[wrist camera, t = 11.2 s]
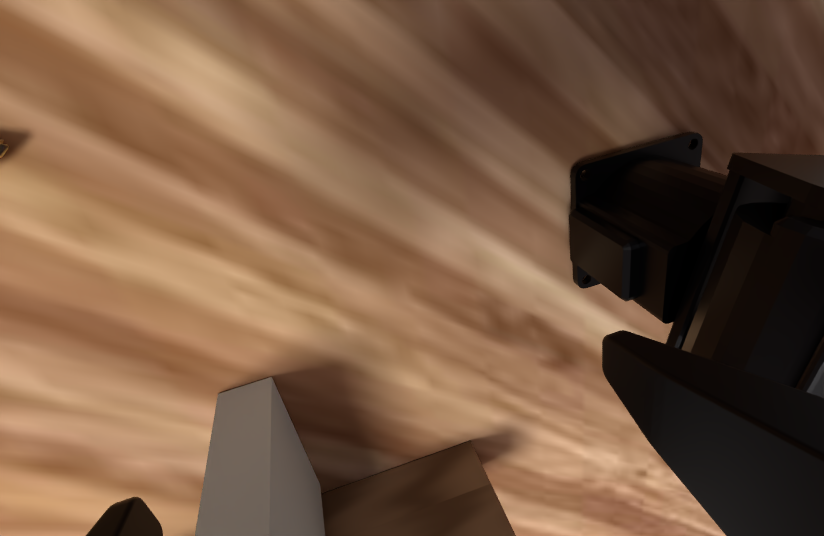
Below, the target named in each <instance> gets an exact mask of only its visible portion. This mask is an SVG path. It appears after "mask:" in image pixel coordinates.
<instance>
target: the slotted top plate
mask: <svg viewBox="0 0 824 536" xmlns="http://www.w3.org/2000/svg"><path fill="white" fill-rule="evenodd" d="M195 536H325V529H324V519H323V508H322V498H321V488H320V483H319V481H318V479H317V476H316V474H315V472H314V470H313V468H312V465H311V463H310V461H309V459H308V456H307V454H306V452H305V450H304V448H303V445H302V443H301V441H300V439H299V436H298V434H297V432H296V430H295V428H294V425H293V423H292V421H291V419H290V416H289V414H288V412H287V410H286V408H285V405H284V403H283V401H282V399H281V396H280V394H279V392H278V390H277V388H276V385H275V383H274V381H273V379H272V377H269V378H266V379H263V380H260V381H257V382H254V383H251V384H247V385H244V386H241V387H238V388H235V389H232V390H229V391H225V392H222V393H219V394H218V397H217V403H216V410H215V416H214V422H213V428H212V434H211V440H210V446H209V452H208V459H207V465H206V471H205V477H204V483H203V489H202V495H201V501H200V507H199V514H198V520H197V526H196V532H195Z"/></svg>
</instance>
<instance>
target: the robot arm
mask: <svg viewBox="0 0 824 536" xmlns="http://www.w3.org/2000/svg"><path fill="white" fill-rule="evenodd" d="M690 141H691V144H690V145H689V142H690ZM702 143H703V139H702V136H701V135H700V134H698V133H695V132H685V133H682V134H678V135H675V136H671V137H668V138H664V139H660V140H657V141H653V142H650V143H646V144H643V145H639V146H636V147H632V148H629V149H625V150H621V151H618V152H614V153H611V154H607V155H604V156H600V157H597V158H593V159H590V160H586V161H582V162H579V163H577V164H576V165H575V166H574V167H573V169H572V171H571V175H570V178H571V213H570V215H569V227H570V259H571V261H572V262H573V280H574V282H575V283H576V284H577V285H578V286H579V287H580V288H588V287H591V286H595V285H598V284H602V285H604V286H605V287H606V288H608V289H609V290H610V291H612V292H613V293H614V294H615V295H617V296H618V297H619V298H621V299H622V300H624V301H629V300H634V301H635V302H636V303H638V304H639V305H640V306H642V307H643V308H644V309H646V310H647V311H648V312H650V313H651V314H652V315H654V316H655V317H656V318H658V319H659V320H661V321H662V322H663V323H665V324H668V323H671V322H673V325H672V328H671V331H670V333H669V336H668V339H667V341H666V344H664V343H661V342H658V341H655V340H652V339H649V338H646V337H643V336H640V335H637V334H634V333H631V332H628V331H624V330H622V331H618V332H615V333H612V334H609V335H606V336H605V337H604V339H603V342H602V368H603V372H604V375H605V377H606V379H607V380H608V382H609V383H610V385H611V386H612V388H613V389H614V391H615V392H616V394H617V395H618V397H619V398H620V400H621V401H622V403H623V404H624V406H625V407H626V409H627V410H628V412H629V413H630V415H631V416H632V418H633V419H634V421H635V422H636V424H637V425H638V427H639V428H640V430H641V431H642V433H643V434H644V435H645V437H646V438H647V440H648V441H649V442H650V444H651V445H652V446H653V448H654V449H655V450H656V451H657V453H658V454H659V455H660V456H661V457H662V459H663V460H664V461H665V462H666V463H667V465H668V466H669V467H670V468H671V470H672V471H673V472H674V473H675V474H676V476H677V477H678V478H679V479H680V480H681V482H682V483H683V484H684V485H685V486H686V488H687V489H688V490H689V491H690V492H691V494H692V495H693V496H694V497H695V498H696V500H697V501H698V502H699V503H700V504H701V506H702V507H703V508H704V509H705V510H706V512H707V513H708V514H709V515H710V517H711V518H712V519H713V520H714V521H715V523H716V524H717V525H718V526H719V527H720V529H721V530H722V531H723V532H724V533H725V535H726V536H824V155H794V154H759V153H733V154H732V156H731V159H730V162H729V165H728V167H727V169H729V170H730V171H729V174H728V176H726V175H723V174H720V173H716V172H713V171H710V170H707V169H704V168H700V161H701V152H702ZM688 145H689V147H688ZM584 170H585V171H586V172H585V175H584V176H583V177H582V178H580V175H581V173H582V171H584ZM586 275H587V276H586ZM584 276H586V278H585V279H584V280H582V279H583V278H584ZM86 536H163V531H162V527H161V525H160V523H159V521H158V520H157V518H156V517H155V516H154V514H153V513H152V512H151V510H150V509H149V508H148V507H147V505H146V504H145V503H144V501H143V500H142V499H141V498H139V497H132V498H129V499H126V500H123V501H120V502H117V503H115V504H113V505H111V506H110V507H109V508H108V509H107V510H106V512H105V513H104V514H103V515H102V517H101V518H100V519H99V520H98V521H97V523H96V524H95V525H94V526H93V528H92V529H91V530H90V531H89V532H88V534H87V535H86Z"/></svg>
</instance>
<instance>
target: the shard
mask: <svg viewBox="0 0 824 536" xmlns="http://www.w3.org/2000/svg"><path fill="white" fill-rule="evenodd" d="M3 142H4V140H1V139H0V158H1V157H2V156H3V155H4V154H5V153H6V151H7V150H8V148H9V147H10V146H8V145H7V144H3Z"/></svg>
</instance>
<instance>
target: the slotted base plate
mask: <svg viewBox="0 0 824 536" xmlns="http://www.w3.org/2000/svg"><path fill="white" fill-rule="evenodd" d="M321 498H322V508H323V519H324V529H325V536H516V535H515V533H514V531H513V529H512V527H511V525H510V523H509V521H508V519H507V516H506V514H505V512H504V510H503V508H502V506H501V504H500V502H499V500H498V498H497V495H496V493H495V491H494V489H493V487H492V485H491V483H490V481H489V479H488V477H487V475H486V472H485V470H484V468H483V466H482V464H481V462H480V460H479V458H478V456H477V454H476V451H475V449H474V447H473V445H472V443H471V441H469V442H466V443H463V444H460V445H458V446H455V447H452V448H449V449H446V450H444V451H441V452H438V453H435V454H432V455H430V456H427V457H424V458H421V459H418V460H416V461H413V462H410V463H407V464H404V465H402V466H399V467H396V468H393V469H390V470H388V471H385V472H382V473H379V474H376V475H374V476H371V477H368V478H365V479H362V480H360V481H357V482H354V483H351V484H348V485H346V486H343V487H340V488H337V489H335V490H332V491H329V492H326V493H323V494H321Z"/></svg>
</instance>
